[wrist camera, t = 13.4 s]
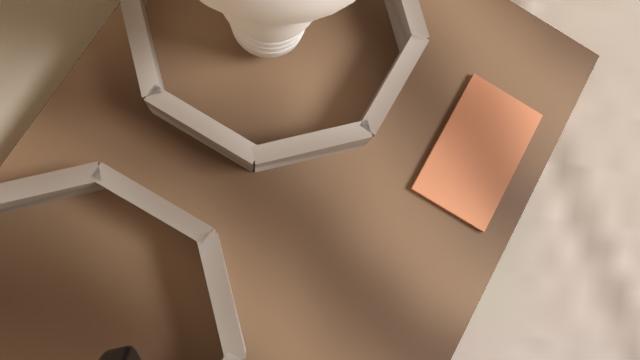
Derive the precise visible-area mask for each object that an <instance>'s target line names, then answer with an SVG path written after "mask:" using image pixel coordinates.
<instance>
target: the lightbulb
mask: <svg viewBox="0 0 640 360" xmlns="http://www.w3.org/2000/svg"><path fill="white" fill-rule="evenodd" d="M199 1H201V2H202V3H204V4H205V5H207V6H208V7H210V8H212V9H215V10H217V11H219V12H221V13H223V14H224V16H225V17H226V19H227V21H228V22H229V23H230V26H231V29H232V32H233V34H234V37H235V39H236V40H237V42H238V43H239V44H240V45H241V46H242V47H243V48H244V49H245V50H246V51H248V52H249V53H251V54H253V55H256V56H259V57H263V58H273V57H279V56H282V55H285V54H286V53H288V52H290V51H291V50H292V49H293V48H295V47H296V45H297V44H298V43H299V41H300V39H301V38H302V36H303V33H304V31H305V29H306V28H307V27H308V26H309V25H310V23H311V22H312V21H314V20H317V19H320V18H323V17H326V16H329V15H332V14H334V13H336V12H338V11H339V10H341V9H343V8H345V7H346V6H348V5H350V4H352V3H353V2H354V1H356V0H199Z"/></svg>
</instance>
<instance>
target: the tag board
mask: <svg viewBox="0 0 640 360" xmlns="http://www.w3.org/2000/svg"><path fill="white" fill-rule="evenodd" d="M119 1H120V4H119V5H118V6H117V8H116V9H115V10H114V12H113V13H112V15H111V16H110V17H109V19H108V20H107V21H106V23H105V24H104V26H103V27H102V28H101V30H100V31H99V32H98V34H97V35H96V36H95V38H94V39H93V41H92V42H91V43H90V45H89V46H88V47H87V49H86V50H85V52H84V53H83V54H82V56H81V57H80V58H79V60H78V61H77V62H76V64H75V65H74V67H73V68H72V69H71V71H70V72H69V73H68V75H67V76H66V77H65V79H64V80H63V82H62V83H61V84H60V86H59V87H58V88H57V90H56V91H55V93H54V94H53V95H52V97H51V98H50V99H49V101H48V102H47V103H46V105H45V106H44V108H43V109H42V110H41V112H40V113H39V114H38V116H37V117H36V119H35V120H34V121H33V123H32V124H31V125H30V127H29V128H28V129H27V131H26V132H25V134H24V135H23V136H22V138H21V139H20V140H19V142H18V143H17V144H16V146H15V147H14V149H13V150H12V151H11V153H10V154H9V155H8V157H7V158H6V160H5V161H4V162H3V164H2V165H1V166H0V360H98V359H99V358H100V357H101V355H102V354H103V353H104V352H106V351H108V350H110V349H114V348H119V347H123V346H127V345H130V346H133V347H134V348H135V349H136V350H137V352H138V354H139V356H140V358H141V360H451V358H452V356H453V354H454V352H455V350H456V348H457V346H458V343H459V341H460V339H461V337H462V335H463V333H464V331H465V329H466V327H467V325H468V323H469V321H470V319H471V317H472V315H473V313H474V311H475V309H476V307H477V305H478V303H479V301H480V299H481V296H482V294H483V292H484V290H485V288H486V286H487V284H488V282H489V280H490V278H491V276H492V274H493V272H494V270H495V268H496V266H497V264H498V262H499V260H500V258H501V256H502V254H503V251H504V249H505V247H506V245H507V243H508V241H509V239H510V237H511V235H512V233H513V231H514V229H515V227H516V225H517V223H518V221H519V219H520V217H521V215H522V213H523V211H524V209H525V207H526V204H527V202H528V200H529V198H530V196H531V194H532V192H533V190H534V188H535V186H536V184H537V182H538V180H539V178H540V176H541V174H542V172H543V170H544V168H545V166H546V164H547V162H548V160H549V157H550V155H551V153H552V151H553V149H554V147H555V145H556V143H557V141H558V139H559V137H560V135H561V133H562V131H563V129H564V127H565V125H566V123H567V121H568V119H569V117H570V115H571V112H572V110H573V108H574V106H575V104H576V102H577V100H578V98H579V96H580V94H581V92H582V90H583V88H584V86H585V84H586V82H587V80H588V78H589V76H590V74H591V72H592V70H593V68H594V65H595V63H596V61H597V59H598V57H599V55H597V54H596V53H594V52H592V51H591V50H589V49H587V48H586V47H584V46H583V45H581V44H579V43H578V42H576V41H575V40H573V39H571V38H570V37H568V36H566V35H565V34H563V33H562V32H560V31H558V30H557V29H555V28H553V27H552V26H550V25H549V24H547V23H545V22H544V21H542V20H541V19H539V18H537V17H536V16H534V15H532V14H531V13H529V12H528V11H526V10H524V9H523V8H521V7H520V6H518V5H516V4H515V3H513V2H511V1H510V0H356V1H354V2H353V3H352V4H350V5H348V6H346V7H345V8H343V9H341V10H339V11H338V12H336V13H334V14H332V15H329V16H326V17H323V18H320V19H317V20H314V21H312V22H311V23H310V25H309V26H308V27H307V28H306V29H305V31H304V33H303V36H302V38H301V39H300V41H299V43H298V44H297V45H296V47H295V48H293V49H292V50H291V51H290V52H288V53H286V54H285V55H282V56H279V57H273V58H263V57H259V56H256V55H253V54H251V53H249V52H248V51H246V50H245V49H244V48H243V47H242V46H241V45H240V44H239V43H238V42H237V40H236V39H235V37H234V34H233V32H232V29H231V26H230V23H229V22H228V21H227V19H226V17H225V16H224V14H223V13H221V12H219V11H217V10H215V9H212V8H210V7H208V6H207V5H205V4H204V3H202V2H201V1H199V0H119Z"/></svg>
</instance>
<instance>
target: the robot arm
mask: <svg viewBox="0 0 640 360" xmlns="http://www.w3.org/2000/svg"><path fill="white" fill-rule="evenodd" d="M98 360H141V358H140V356H139V354H138V352H137V350H136V349H135V348H134V347H133V346H130V345H127V346H123V347H119V348H114V349H110V350H108V351H106V352H104V353H103V354H102V355H101V357H100V358H99V359H98Z"/></svg>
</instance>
